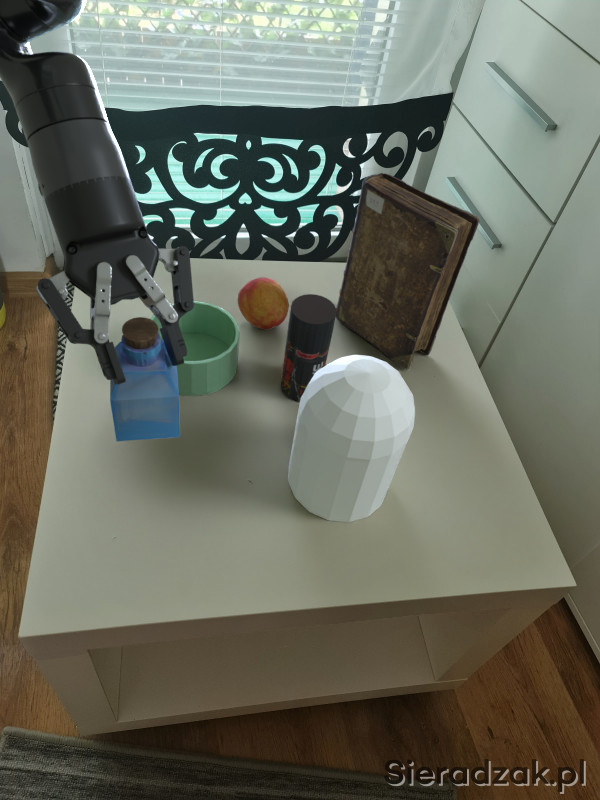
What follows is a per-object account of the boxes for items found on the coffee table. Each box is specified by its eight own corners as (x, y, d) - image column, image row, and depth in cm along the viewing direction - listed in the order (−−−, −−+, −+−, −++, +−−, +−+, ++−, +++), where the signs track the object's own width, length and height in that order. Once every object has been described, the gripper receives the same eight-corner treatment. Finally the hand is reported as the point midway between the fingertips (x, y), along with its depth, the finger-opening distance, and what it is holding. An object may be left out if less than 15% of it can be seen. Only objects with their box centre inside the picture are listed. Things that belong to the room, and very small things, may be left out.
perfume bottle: (176, 391, 66) (174, 305, 57) (180, 437, 62) (178, 352, 53) (116, 394, 65) (104, 306, 56) (116, 441, 61) (103, 355, 52)
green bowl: (170, 407, 85) (168, 375, 80) (134, 348, 92) (130, 315, 87) (252, 378, 91) (255, 346, 86) (213, 324, 97) (213, 292, 93)
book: (329, 315, 102) (357, 175, 84) (358, 299, 106) (391, 162, 87) (403, 374, 95) (452, 235, 76) (432, 355, 99) (485, 218, 80)
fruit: (278, 302, 103) (283, 263, 97) (292, 335, 98) (298, 295, 92) (232, 308, 100) (234, 268, 95) (245, 341, 96) (247, 301, 90)
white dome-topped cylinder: (409, 496, 80) (455, 393, 65) (324, 540, 74) (354, 438, 59) (349, 424, 87) (379, 317, 72) (268, 460, 81) (282, 350, 66)
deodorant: (295, 366, 93) (308, 288, 82) (327, 386, 91) (345, 308, 80) (272, 388, 90) (281, 309, 79) (304, 408, 88) (319, 330, 77)
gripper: (1, 190, 47) (77, 400, 50) (175, 160, 53) (234, 348, 56) (0, 215, 54) (67, 398, 57) (155, 185, 60) (208, 352, 63)
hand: (150, 372), depth 56 cm, fingers closed on perfume bottle, 5 cm apart
